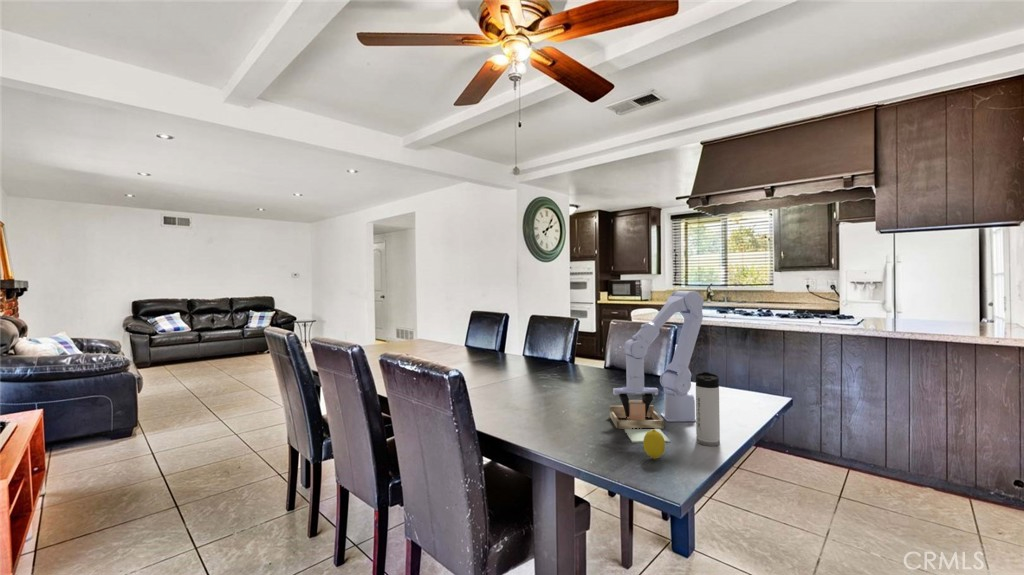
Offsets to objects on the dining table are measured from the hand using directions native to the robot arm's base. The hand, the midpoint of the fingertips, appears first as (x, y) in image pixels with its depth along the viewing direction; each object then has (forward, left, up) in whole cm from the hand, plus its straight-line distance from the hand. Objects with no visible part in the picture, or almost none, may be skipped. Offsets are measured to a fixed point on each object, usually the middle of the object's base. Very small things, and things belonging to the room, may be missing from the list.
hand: (635, 416), depth 146 cm
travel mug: (-16, +18, -2) cm, 25 cm away
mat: (0, +13, -2) cm, 13 cm away
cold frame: (0, 0, -2) cm, 2 cm away
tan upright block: (0, 0, -2) cm, 2 cm away
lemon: (+2, +30, -2) cm, 30 cm away
